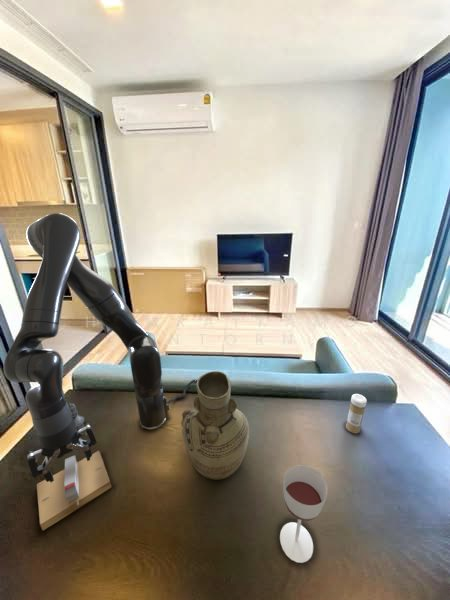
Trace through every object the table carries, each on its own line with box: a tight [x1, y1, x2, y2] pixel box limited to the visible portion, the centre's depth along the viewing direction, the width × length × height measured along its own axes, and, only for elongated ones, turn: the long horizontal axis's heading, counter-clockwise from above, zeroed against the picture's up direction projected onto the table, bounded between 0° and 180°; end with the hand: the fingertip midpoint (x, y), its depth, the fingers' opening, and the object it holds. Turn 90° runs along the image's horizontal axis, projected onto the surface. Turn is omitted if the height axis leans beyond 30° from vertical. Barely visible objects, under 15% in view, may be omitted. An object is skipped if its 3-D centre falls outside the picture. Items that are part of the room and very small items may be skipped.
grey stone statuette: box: [68, 402, 85, 430], centre depth 86 cm, size 6×6×12 cm
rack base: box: [36, 450, 112, 531], centre depth 69 cm, size 16×14×3 cm
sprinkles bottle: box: [345, 393, 368, 434], centre depth 85 cm, size 5×5×13 cm
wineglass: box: [279, 464, 328, 564], centre depth 55 cm, size 8×9×20 cm
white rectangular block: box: [64, 455, 79, 502], centre depth 68 cm, size 10×2×4 cm, turn 30°
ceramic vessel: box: [181, 370, 250, 481], centre depth 73 cm, size 19×21×30 cm
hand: (70, 468), depth 66 cm, fingers open, 8 cm apart
